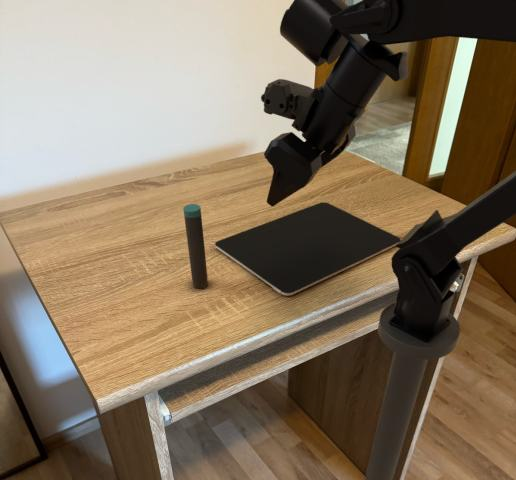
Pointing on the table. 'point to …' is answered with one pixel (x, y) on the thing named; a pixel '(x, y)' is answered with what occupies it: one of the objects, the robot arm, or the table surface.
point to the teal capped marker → (196, 245)
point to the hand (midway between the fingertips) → (283, 192)
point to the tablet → (306, 247)
